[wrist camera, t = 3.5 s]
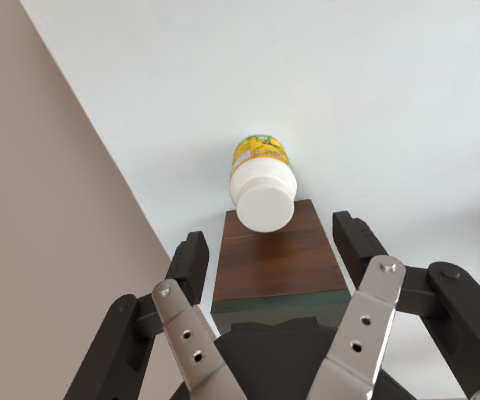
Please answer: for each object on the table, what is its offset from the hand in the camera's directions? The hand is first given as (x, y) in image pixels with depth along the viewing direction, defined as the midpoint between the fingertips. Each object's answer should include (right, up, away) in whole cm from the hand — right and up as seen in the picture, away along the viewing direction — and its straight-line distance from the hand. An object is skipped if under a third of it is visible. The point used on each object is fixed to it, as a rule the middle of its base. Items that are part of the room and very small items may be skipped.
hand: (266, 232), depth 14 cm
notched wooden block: (+3, -5, +17) cm, 18 cm away
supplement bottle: (0, +7, +10) cm, 12 cm away
